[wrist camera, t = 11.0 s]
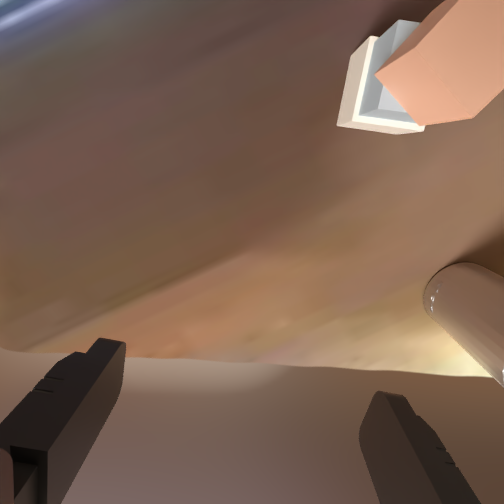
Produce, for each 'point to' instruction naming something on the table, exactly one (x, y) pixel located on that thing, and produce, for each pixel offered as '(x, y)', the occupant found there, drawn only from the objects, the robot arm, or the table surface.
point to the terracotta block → (449, 62)
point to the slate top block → (375, 94)
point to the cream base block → (355, 93)
